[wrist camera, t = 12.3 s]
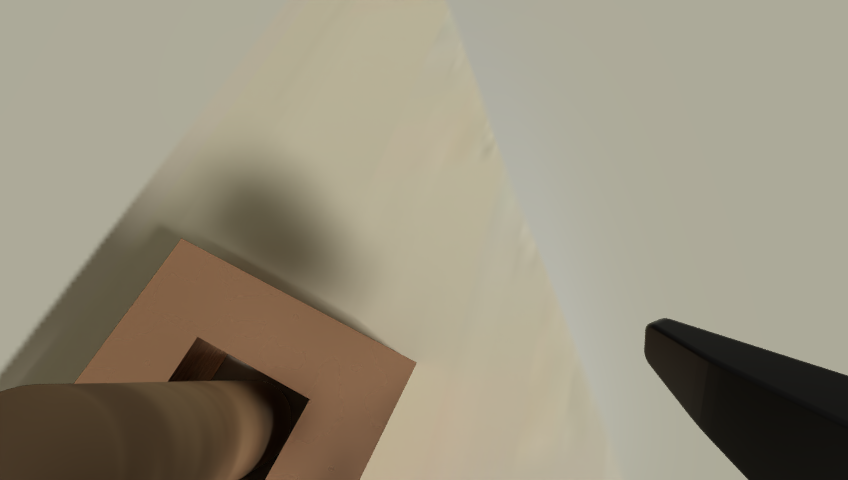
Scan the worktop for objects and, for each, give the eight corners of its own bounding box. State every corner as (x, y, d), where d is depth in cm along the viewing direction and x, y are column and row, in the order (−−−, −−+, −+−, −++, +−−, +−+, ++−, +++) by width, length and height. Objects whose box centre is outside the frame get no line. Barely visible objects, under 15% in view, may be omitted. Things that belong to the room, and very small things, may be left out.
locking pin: (261, 485, 20) (14, 672, 7) (189, 443, 20) (-159, 552, 8) (306, 403, 21) (162, 443, 8) (238, 365, 21) (5, 350, 9)
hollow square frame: (286, 625, 18) (255, 692, 14) (62, 485, 19) (-22, 512, 15) (414, 365, 21) (416, 362, 18) (218, 261, 23) (181, 238, 19)
